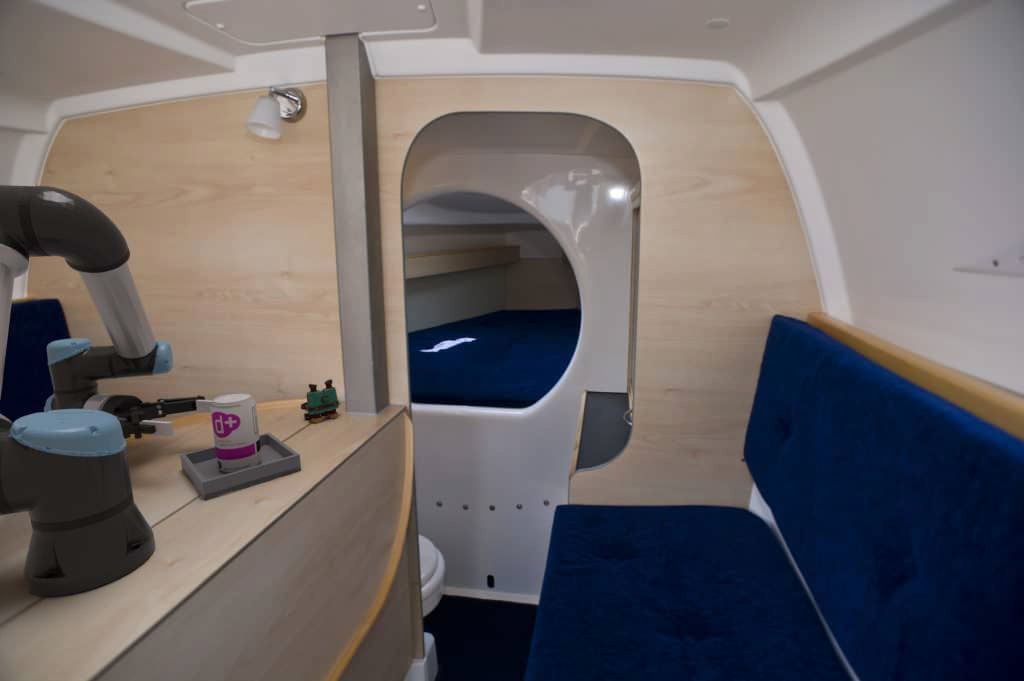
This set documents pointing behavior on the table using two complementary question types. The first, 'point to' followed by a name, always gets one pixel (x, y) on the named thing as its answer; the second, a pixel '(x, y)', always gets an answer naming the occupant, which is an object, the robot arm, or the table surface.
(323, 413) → the binoculars
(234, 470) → the supplement can
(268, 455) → the tray
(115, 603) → the table surface
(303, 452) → the table surface
